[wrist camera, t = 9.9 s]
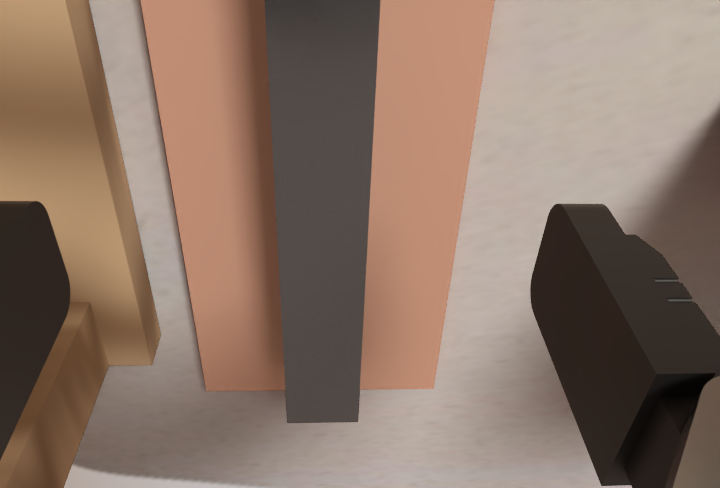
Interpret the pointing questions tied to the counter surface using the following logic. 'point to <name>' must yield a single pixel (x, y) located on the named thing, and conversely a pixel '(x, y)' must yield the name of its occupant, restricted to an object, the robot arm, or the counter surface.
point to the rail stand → (70, 225)
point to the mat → (257, 192)
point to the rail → (322, 194)
